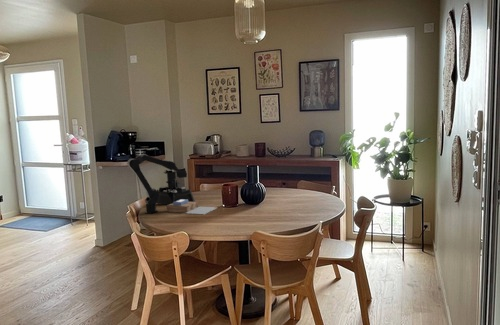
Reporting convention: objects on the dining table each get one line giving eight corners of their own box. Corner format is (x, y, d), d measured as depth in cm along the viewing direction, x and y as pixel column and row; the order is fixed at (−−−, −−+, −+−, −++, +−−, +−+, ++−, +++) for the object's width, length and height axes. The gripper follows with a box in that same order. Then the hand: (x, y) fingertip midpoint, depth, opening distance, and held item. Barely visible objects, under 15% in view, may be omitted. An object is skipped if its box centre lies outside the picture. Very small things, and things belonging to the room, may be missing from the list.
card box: (181, 205, 270) (180, 202, 269) (173, 204, 272) (173, 201, 272) (188, 202, 278) (188, 199, 278) (181, 201, 280) (180, 199, 280)
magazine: (197, 190, 295) (157, 180, 294) (196, 190, 292) (156, 181, 291) (192, 212, 297) (152, 202, 296) (191, 213, 294) (151, 203, 293)
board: (187, 212, 265) (186, 206, 265) (167, 211, 272) (166, 205, 271) (198, 207, 278) (197, 201, 278) (178, 206, 285) (178, 200, 284)
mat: (204, 214, 258) (204, 214, 258) (185, 213, 264) (185, 212, 264) (217, 207, 274) (217, 207, 274) (199, 206, 280) (199, 206, 280)
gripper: (189, 177, 279) (191, 199, 281) (166, 177, 286) (168, 198, 288) (180, 180, 269) (182, 203, 271) (157, 179, 276) (159, 202, 278)
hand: (173, 201), depth 277 cm, fingers closed
